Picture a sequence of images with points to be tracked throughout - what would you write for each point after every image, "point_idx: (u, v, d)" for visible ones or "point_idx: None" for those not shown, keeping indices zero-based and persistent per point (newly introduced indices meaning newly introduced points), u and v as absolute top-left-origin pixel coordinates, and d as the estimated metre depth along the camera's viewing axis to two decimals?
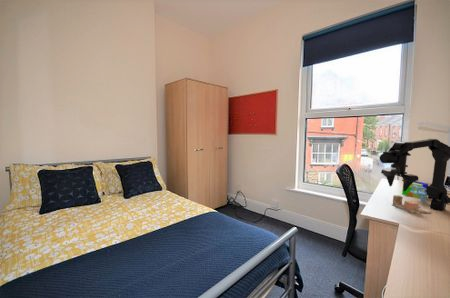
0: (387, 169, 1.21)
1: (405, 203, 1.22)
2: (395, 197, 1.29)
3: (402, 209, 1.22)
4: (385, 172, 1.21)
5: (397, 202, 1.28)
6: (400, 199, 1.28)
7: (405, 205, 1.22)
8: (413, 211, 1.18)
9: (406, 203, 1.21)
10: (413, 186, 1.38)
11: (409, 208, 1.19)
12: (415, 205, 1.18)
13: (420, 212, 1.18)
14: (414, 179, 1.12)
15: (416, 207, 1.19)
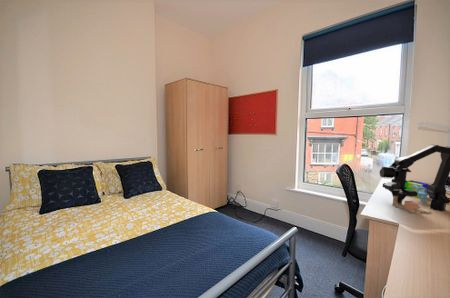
0: (388, 184, 1.28)
1: (405, 203, 1.22)
2: (395, 197, 1.29)
3: (402, 209, 1.22)
4: (386, 187, 1.28)
5: (397, 202, 1.28)
6: None
7: (405, 205, 1.22)
8: (413, 211, 1.18)
9: (406, 203, 1.21)
10: (413, 186, 1.38)
11: (409, 208, 1.19)
12: (415, 205, 1.18)
13: (420, 212, 1.18)
14: (413, 194, 1.19)
15: (416, 207, 1.19)
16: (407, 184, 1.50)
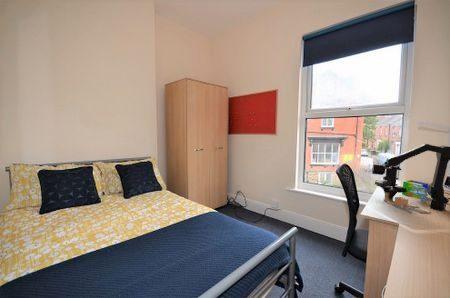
0: (380, 181, 1.35)
1: (395, 199, 1.28)
2: (386, 194, 1.35)
3: (402, 209, 1.22)
4: (378, 184, 1.35)
5: (388, 198, 1.35)
6: None
7: (396, 201, 1.28)
8: (403, 207, 1.24)
9: (396, 199, 1.28)
10: (413, 186, 1.38)
11: (399, 204, 1.26)
12: (405, 201, 1.25)
13: (420, 212, 1.18)
14: (403, 191, 1.26)
15: (406, 203, 1.25)
16: (407, 184, 1.50)
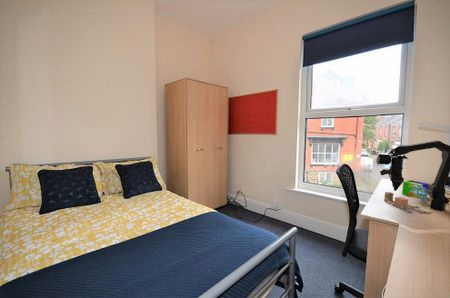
0: (382, 169, 1.35)
1: (395, 199, 1.28)
2: (386, 194, 1.35)
3: (402, 209, 1.22)
4: None
5: (388, 198, 1.35)
6: (391, 195, 1.35)
7: (396, 201, 1.28)
8: (403, 207, 1.24)
9: (396, 199, 1.28)
10: (413, 186, 1.38)
11: (399, 204, 1.26)
12: (405, 201, 1.25)
13: (420, 212, 1.18)
14: (397, 179, 1.23)
15: (406, 203, 1.25)
16: (407, 184, 1.50)
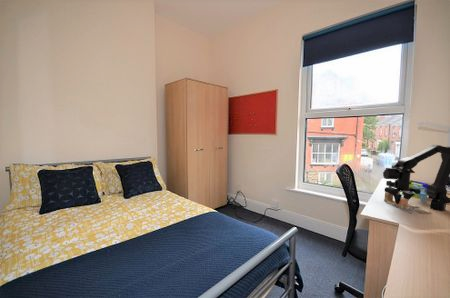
0: None
1: None
2: (386, 194, 1.35)
3: (402, 209, 1.22)
4: None
5: (388, 198, 1.35)
6: (391, 195, 1.35)
7: None
8: (403, 207, 1.24)
9: None
10: (413, 186, 1.38)
11: (399, 204, 1.26)
12: (405, 201, 1.25)
13: (420, 212, 1.18)
14: (388, 191, 1.25)
15: (406, 203, 1.25)
16: None
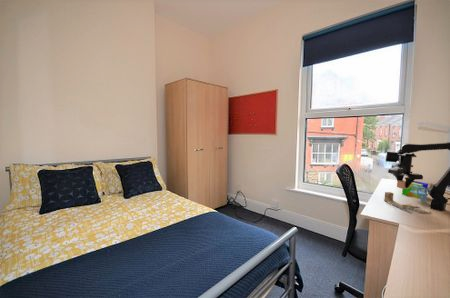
0: (394, 169, 1.32)
1: (404, 184, 1.30)
2: (386, 194, 1.35)
3: (402, 209, 1.22)
4: (392, 171, 1.32)
5: (388, 198, 1.35)
6: (391, 195, 1.35)
7: (404, 185, 1.31)
8: (403, 207, 1.24)
9: (405, 183, 1.31)
10: (413, 186, 1.38)
11: (408, 187, 1.31)
12: None
13: (420, 212, 1.18)
14: (419, 178, 1.23)
15: None
16: None
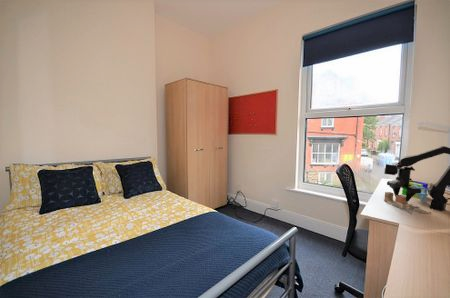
0: (392, 181, 1.33)
1: (402, 199, 1.32)
2: (386, 194, 1.35)
3: (402, 209, 1.22)
4: (391, 184, 1.33)
5: (388, 198, 1.35)
6: (391, 195, 1.35)
7: (403, 200, 1.32)
8: (403, 207, 1.24)
9: (403, 198, 1.32)
10: (413, 186, 1.38)
11: (406, 202, 1.32)
12: None
13: (420, 212, 1.18)
14: (417, 192, 1.24)
15: None
16: None
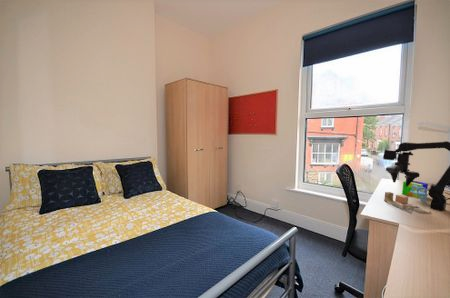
0: (391, 167, 1.35)
1: (402, 199, 1.32)
2: (386, 194, 1.35)
3: (402, 209, 1.22)
4: (389, 169, 1.35)
5: (388, 198, 1.35)
6: (391, 195, 1.35)
7: (403, 200, 1.32)
8: (403, 207, 1.24)
9: (403, 198, 1.32)
10: (413, 186, 1.38)
11: (406, 202, 1.32)
12: None
13: (420, 212, 1.18)
14: (415, 175, 1.26)
15: None
16: None
